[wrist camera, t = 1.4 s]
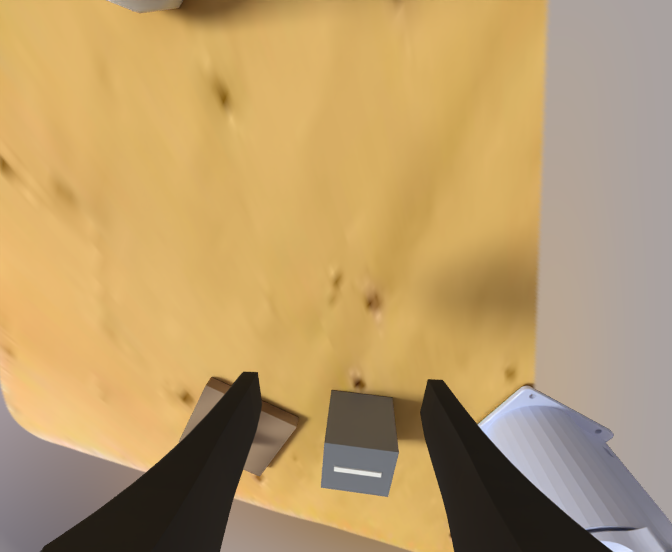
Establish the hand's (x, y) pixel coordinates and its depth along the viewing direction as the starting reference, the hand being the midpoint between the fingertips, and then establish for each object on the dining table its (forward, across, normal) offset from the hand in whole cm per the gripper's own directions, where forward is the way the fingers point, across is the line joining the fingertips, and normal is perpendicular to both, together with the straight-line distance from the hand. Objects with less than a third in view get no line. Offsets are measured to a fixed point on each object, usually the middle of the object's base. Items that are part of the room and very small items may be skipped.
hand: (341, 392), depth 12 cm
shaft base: (+10, +10, +16) cm, 21 cm away
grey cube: (+9, -2, +13) cm, 16 cm away
